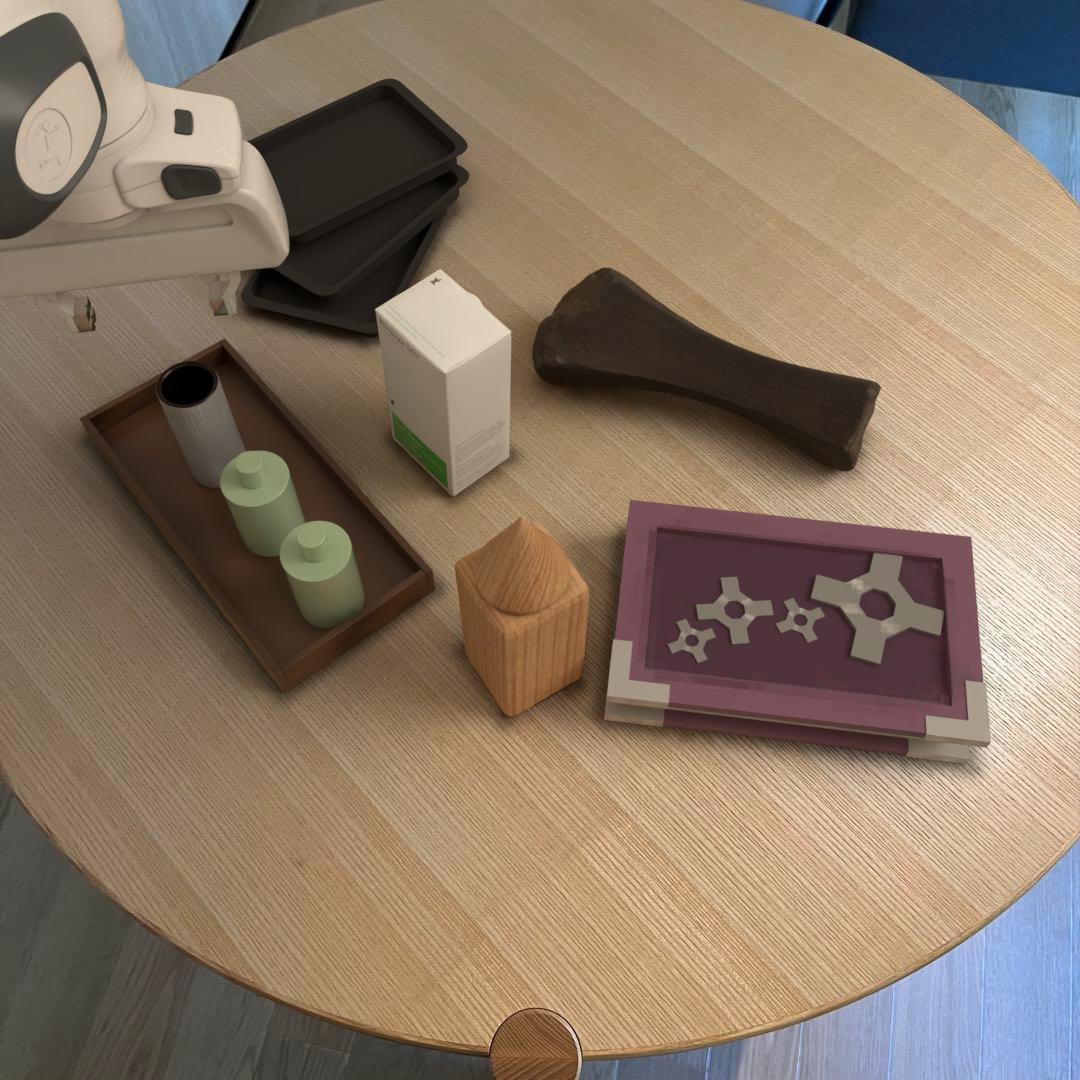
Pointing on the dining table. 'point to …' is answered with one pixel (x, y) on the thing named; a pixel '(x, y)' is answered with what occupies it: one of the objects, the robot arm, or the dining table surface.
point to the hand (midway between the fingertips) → (155, 317)
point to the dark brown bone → (697, 368)
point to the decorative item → (523, 615)
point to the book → (799, 632)
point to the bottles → (293, 538)
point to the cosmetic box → (447, 380)
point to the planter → (200, 419)
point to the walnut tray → (214, 540)
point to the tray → (356, 204)
